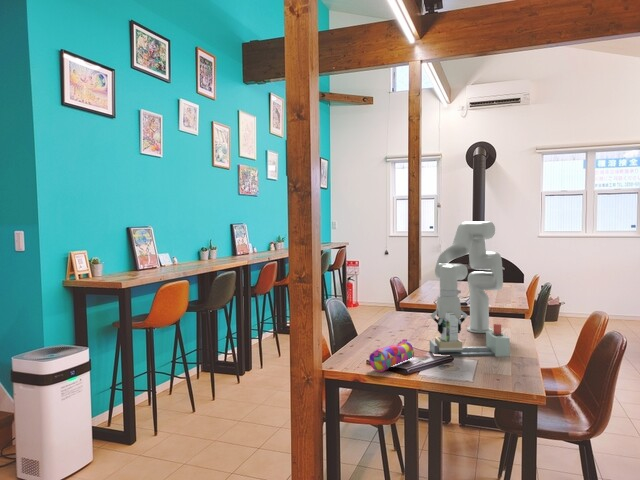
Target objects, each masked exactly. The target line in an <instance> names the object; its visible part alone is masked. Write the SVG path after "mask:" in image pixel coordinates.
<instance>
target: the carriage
mask: <svg viewBox="0 0 640 480" xmlns="http://www.w3.org/2000/svg"><path fill="white" fill-rule="evenodd" d="M434 342H435V343H436V344H437V348H438V352H461V350H463V347H464V346H463V341H462V340H461V339H460V338H458V342H441V336H434Z"/></svg>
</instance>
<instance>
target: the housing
mask: <svg viewBox="0 0 640 480" xmlns="http://www.w3.org/2000/svg"><path fill="white" fill-rule="evenodd" d="M510 339H511V338H510V337H509V336H507V335H505V334H504V333H502V332H501V334H499V336H496V334H494V330H492V331H486V333H485V342H486V343H485V346H488V347H490V350H491V351H492V352H494V353H495V356H494V357H510V354H511V352H510V351H511V349H510V347H511V346H510V345H511V343H510Z"/></svg>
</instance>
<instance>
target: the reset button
mask: <svg viewBox="0 0 640 480" xmlns="http://www.w3.org/2000/svg"><path fill="white" fill-rule="evenodd" d="M493 331H494V334H496V336H499V334H501V333H502V324H500V323H493Z"/></svg>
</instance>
